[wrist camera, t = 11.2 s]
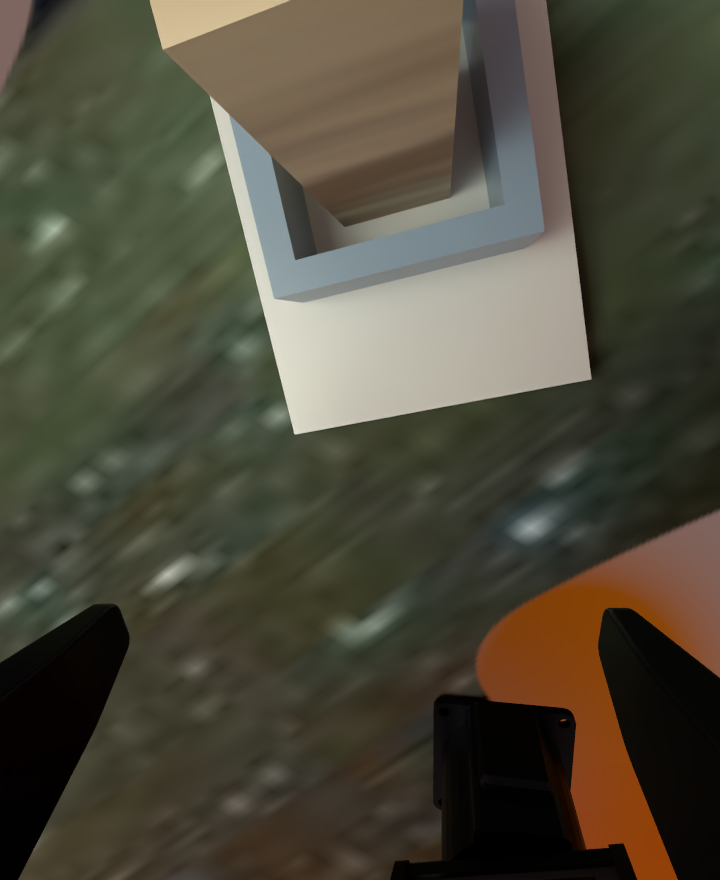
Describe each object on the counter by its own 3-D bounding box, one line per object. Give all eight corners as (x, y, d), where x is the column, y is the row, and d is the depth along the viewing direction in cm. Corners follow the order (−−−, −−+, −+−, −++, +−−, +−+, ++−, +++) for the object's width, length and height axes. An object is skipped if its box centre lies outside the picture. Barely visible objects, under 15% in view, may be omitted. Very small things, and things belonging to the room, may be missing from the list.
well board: (583, 376, 19) (625, 392, 15) (301, 429, 22) (266, 456, 17) (534, -29, 16) (567, -153, 12) (216, 85, 19) (149, 15, 14)
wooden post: (450, 198, 18) (468, -70, 6) (344, 227, 18) (162, 49, 6) (429, 76, 17) (399, -542, 5) (320, 112, 18) (60, -337, 6)
